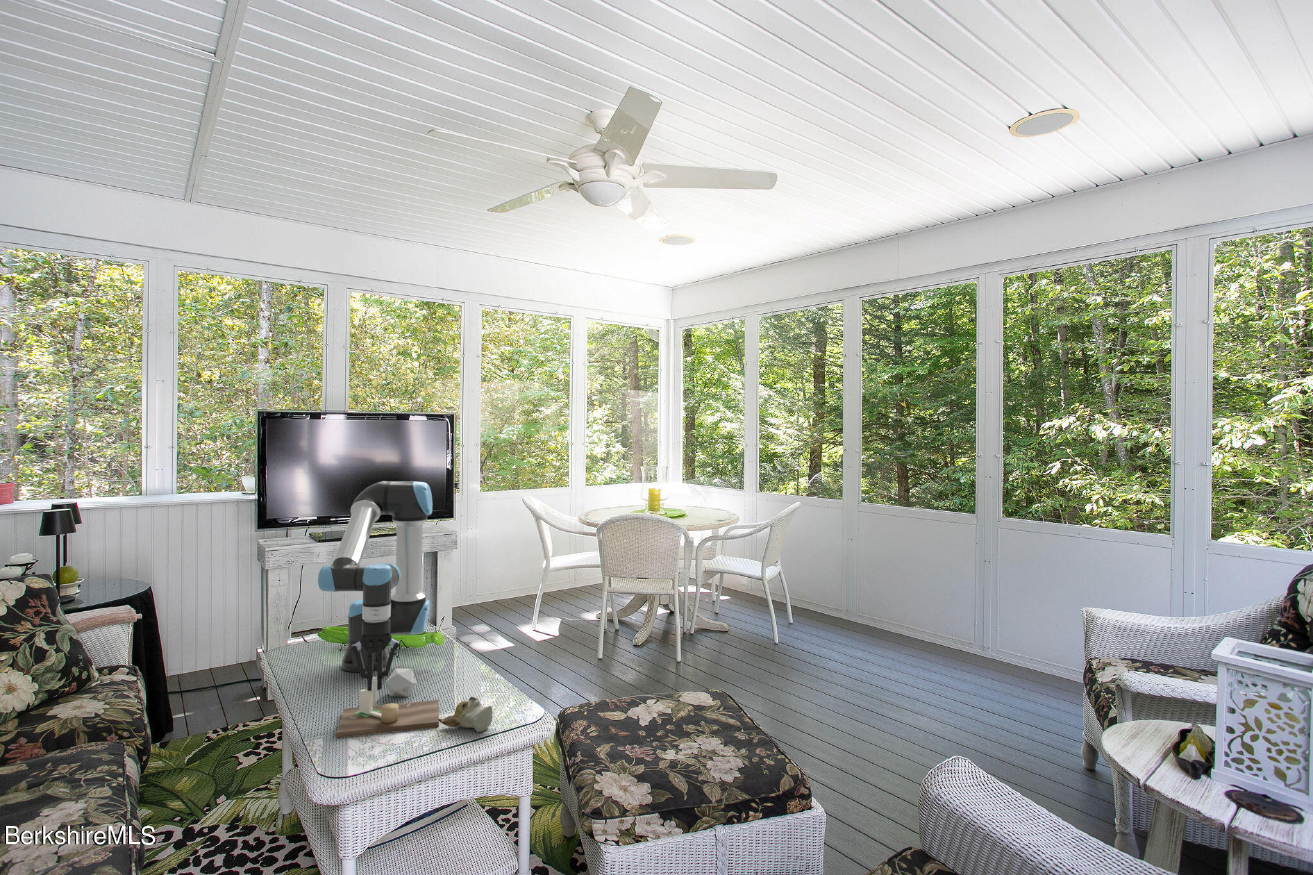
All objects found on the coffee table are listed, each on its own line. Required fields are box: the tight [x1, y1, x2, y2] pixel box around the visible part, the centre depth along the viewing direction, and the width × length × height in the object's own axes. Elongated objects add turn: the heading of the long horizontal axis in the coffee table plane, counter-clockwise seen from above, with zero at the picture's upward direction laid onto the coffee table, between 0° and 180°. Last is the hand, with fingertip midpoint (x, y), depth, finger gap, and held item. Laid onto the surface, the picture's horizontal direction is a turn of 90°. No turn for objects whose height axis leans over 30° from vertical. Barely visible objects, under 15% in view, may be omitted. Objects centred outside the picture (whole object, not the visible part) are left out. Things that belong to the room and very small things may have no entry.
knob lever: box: [358, 688, 399, 723], centre depth 186 cm, size 14×4×6 cm, turn 63°
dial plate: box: [335, 699, 440, 739], centre depth 188 cm, size 16×26×2 cm, turn 109°
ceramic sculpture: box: [438, 696, 494, 733], centre depth 185 cm, size 11×9×15 cm
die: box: [384, 668, 418, 698], centre depth 206 cm, size 8×9×10 cm
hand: (374, 700), depth 190 cm, fingers closed
